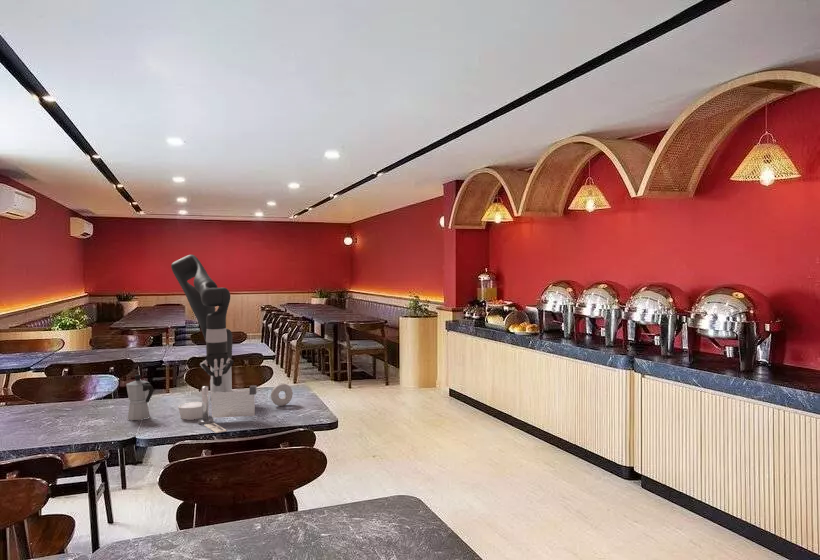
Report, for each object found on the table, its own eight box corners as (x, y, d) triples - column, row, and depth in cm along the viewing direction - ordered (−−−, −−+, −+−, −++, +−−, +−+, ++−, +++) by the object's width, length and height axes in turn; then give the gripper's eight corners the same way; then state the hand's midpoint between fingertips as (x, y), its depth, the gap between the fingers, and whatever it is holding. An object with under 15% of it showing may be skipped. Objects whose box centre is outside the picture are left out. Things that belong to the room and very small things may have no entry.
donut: (291, 403, 263) (290, 381, 263) (294, 404, 261) (293, 382, 260) (269, 406, 258) (269, 384, 257) (272, 408, 255) (272, 385, 255)
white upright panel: (201, 420, 231) (201, 387, 231) (203, 418, 234) (202, 386, 234) (256, 417, 234) (255, 385, 234) (257, 415, 237) (256, 383, 237)
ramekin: (173, 417, 241) (173, 405, 241) (199, 412, 250) (199, 400, 249) (186, 422, 234) (186, 409, 234) (212, 416, 242) (212, 404, 242)
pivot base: (194, 422, 233) (194, 420, 233) (208, 419, 237) (208, 417, 237) (202, 425, 229) (202, 423, 229) (216, 422, 233) (216, 419, 233)
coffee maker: (118, 419, 240) (117, 375, 239) (136, 413, 248) (135, 371, 247) (144, 423, 233) (143, 378, 233) (162, 417, 241) (161, 374, 241)
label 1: (204, 425, 229) (204, 424, 229) (214, 423, 231) (214, 422, 231) (209, 428, 224) (209, 427, 224) (219, 427, 226) (219, 425, 226)
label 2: (210, 429, 223) (210, 428, 223) (220, 427, 226) (220, 426, 226) (216, 433, 218) (216, 431, 218) (226, 431, 221) (226, 429, 221)
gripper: (202, 343, 214) (203, 390, 214) (237, 339, 222) (238, 385, 223) (195, 341, 220) (196, 386, 220) (229, 337, 228) (230, 382, 228)
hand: (217, 385), depth 221 cm, fingers closed
